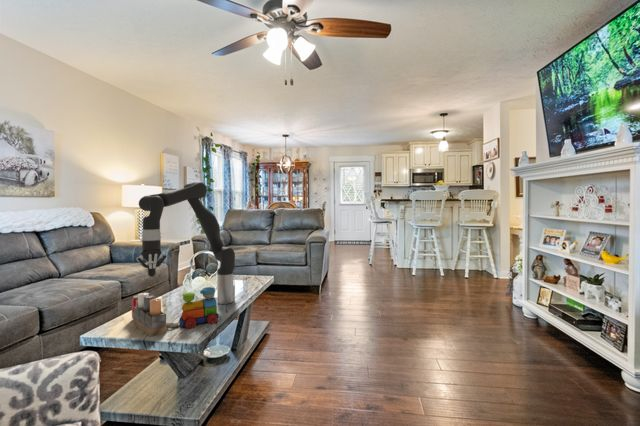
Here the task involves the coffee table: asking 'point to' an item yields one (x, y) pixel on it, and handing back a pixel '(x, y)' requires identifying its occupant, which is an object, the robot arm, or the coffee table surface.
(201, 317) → the toy train
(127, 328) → the coffee table surface
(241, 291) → the coffee table surface
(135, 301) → the soda can
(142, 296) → the plunger
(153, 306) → the plunger
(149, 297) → the grey upright block
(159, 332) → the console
